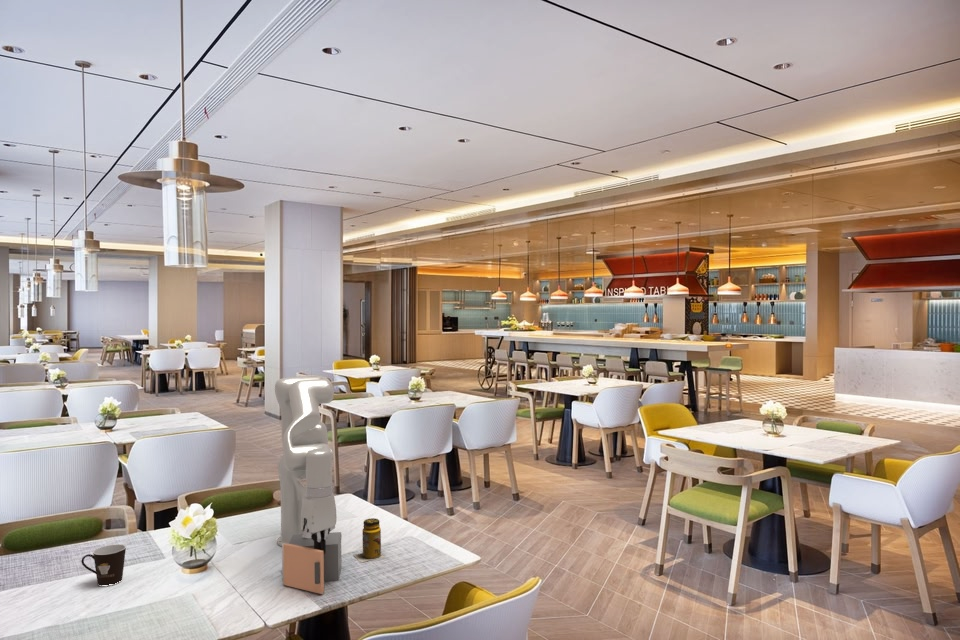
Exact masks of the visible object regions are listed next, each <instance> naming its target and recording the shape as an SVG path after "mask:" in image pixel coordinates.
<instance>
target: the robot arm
mask: <svg viewBox="0 0 960 640" xmlns="http://www.w3.org/2000/svg"><path fill="white" fill-rule="evenodd" d="M334 391H335V390H334V386H333V383H332V382H331V380H330V379H329V378H327V377H326V376H322V375H314V376H313V375H311V376H309V375H308V376H289V377H282V378H280V379H278V380H276V382H275V384H274V394H275V398H276V400H277V404H278V406H279V408H280V414H281V443H282V452H283V453H282V454H283V455H282V456H280V457H279V458H278V461H277V471H278V477H279V488H280V533H281V534H280V536H278V537H277V538H276V544H277V546H280V547H282V543H288V544H289V542H290V540H291V538H292V536H293V535H298V534H304V537H305V538H311V539H312V540H314V549H317V550H322V551H323V553H324V554H325V553H326V539H327V538H328V534H329V533H331V531H334V529H336V524H337V517H338V516H337V505H336V504H337V503H336V499H335V495H334V493H333V489H334V488H335V484H334V483H333V457H334V455H333V454H334V453H333V450H332V448H331V446H330V445H329V439H328V438H329V437H328V436H329V435H328V428H327V426H326V424H325V423H324V422H323V421H321V413H320V408H319V405H320V404H321V405H323V404H330V403H331V402H333V400H334V396H335V392H334ZM302 480H305V484H303V482H302Z"/></svg>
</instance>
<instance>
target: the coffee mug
mask: <svg viewBox="0 0 960 640" xmlns="http://www.w3.org/2000/svg"><path fill="white" fill-rule="evenodd" d="M126 550H127V547H126V545H124V544H109V545H105V546H101V547H98V548H96V549H94V550H93V551H92V553H93V554H90V553H88V554H86V555H84V556H83V557H82V558H81V565H82V566H83V567H84V568H85V569H86V570H88V571H90V572H91V573H93V574H95V575H96V581H97V582H96V583H97V585H98V584H99V585H109V584H115V583H117V582H119V581H121V580H122V581H123V576H124V567H125V560H126V559H125V558H126V552H127V551H126ZM87 557H91V558H92V559H93V561H94V562H93V563H94V568H95V570H94V569H92V568H91V567H89V566H87V565H86V564H85V558H87ZM122 581H121V582H122Z"/></svg>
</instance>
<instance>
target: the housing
mask: <svg viewBox="0 0 960 640" xmlns="http://www.w3.org/2000/svg"><path fill="white" fill-rule="evenodd" d="M289 544H293V545H298V546H303V547H307V548H312V549H314V540H312V539H311V538H305V537H304V534H298V535H293V536H292V538H291V540H290V542H289ZM342 565H343V564H342V532H341V531H336V532H330V533H329V534H328V538H327V539H326V553H325V554H324V582H333V581H339V580H340V574H341V571H342V568H343V567H342Z"/></svg>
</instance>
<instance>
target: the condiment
mask: <svg viewBox="0 0 960 640" xmlns="http://www.w3.org/2000/svg"><path fill="white" fill-rule="evenodd" d="M381 533H382V531H381V527H380V519H378V518H374V517H373V518H367V519H364V521H363V528H362V553H356V554H355V553H354V554H353V557H355V559H357V560H358V561H359V562H360V563H364V562H369V561H370V562H371V561H374V560H377V559H378V560H379V559H383V558H385V557H386V556H385V555H383V554H382V542H381V541H382V536H381V535H382V534H381Z"/></svg>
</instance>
